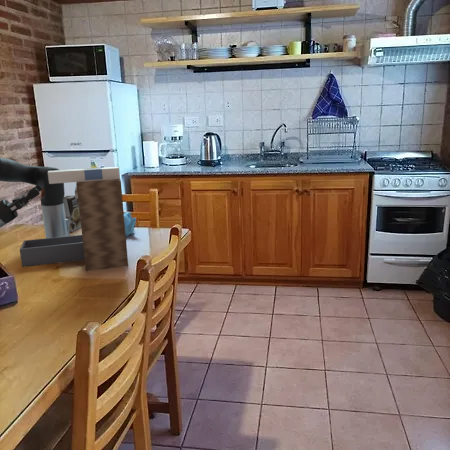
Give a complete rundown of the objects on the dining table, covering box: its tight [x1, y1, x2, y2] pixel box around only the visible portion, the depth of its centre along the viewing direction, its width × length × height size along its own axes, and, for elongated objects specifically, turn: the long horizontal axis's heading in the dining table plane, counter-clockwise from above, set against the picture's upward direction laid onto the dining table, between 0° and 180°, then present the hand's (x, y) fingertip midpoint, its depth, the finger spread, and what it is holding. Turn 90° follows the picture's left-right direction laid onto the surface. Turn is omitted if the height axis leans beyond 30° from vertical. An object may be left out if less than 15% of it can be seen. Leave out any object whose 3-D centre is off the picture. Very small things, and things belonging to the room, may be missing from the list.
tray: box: [19, 234, 85, 268], centre depth 173 cm, size 31×12×7 cm, turn 107°
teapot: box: [124, 211, 137, 237], centre depth 203 cm, size 15×15×11 cm
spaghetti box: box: [48, 166, 121, 184], centre depth 156 cm, size 24×4×4 cm, turn 107°
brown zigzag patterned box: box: [74, 178, 129, 272], centre depth 162 cm, size 16×12×32 cm
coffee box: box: [63, 195, 81, 233], centre depth 213 cm, size 9×6×16 cm
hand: (39, 188), depth 153 cm, fingers open, 8 cm apart
